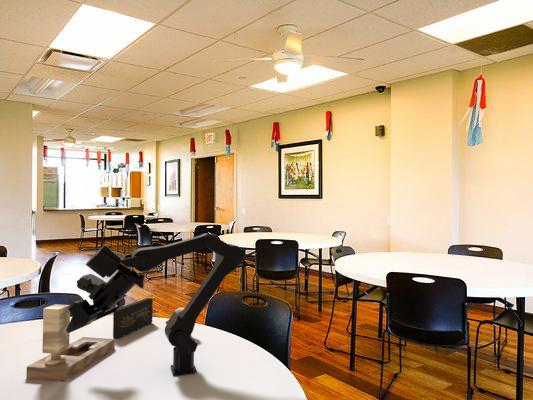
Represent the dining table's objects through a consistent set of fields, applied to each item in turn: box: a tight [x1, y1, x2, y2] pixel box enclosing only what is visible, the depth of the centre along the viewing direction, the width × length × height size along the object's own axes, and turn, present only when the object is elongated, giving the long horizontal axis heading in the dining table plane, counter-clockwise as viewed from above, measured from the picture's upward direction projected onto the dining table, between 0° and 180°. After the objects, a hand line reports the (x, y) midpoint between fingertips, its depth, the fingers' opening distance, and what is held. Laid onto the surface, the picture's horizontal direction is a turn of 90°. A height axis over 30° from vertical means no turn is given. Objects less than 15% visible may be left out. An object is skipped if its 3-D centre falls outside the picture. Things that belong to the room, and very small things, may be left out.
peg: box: [41, 303, 71, 366], centre depth 108 cm, size 5×5×15 cm
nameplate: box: [112, 297, 154, 340], centre depth 147 cm, size 21×2×10 cm, turn 163°
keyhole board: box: [25, 336, 116, 383], centre depth 116 cm, size 24×11×3 cm, turn 171°
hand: (78, 326), depth 107 cm, fingers open, 9 cm apart
